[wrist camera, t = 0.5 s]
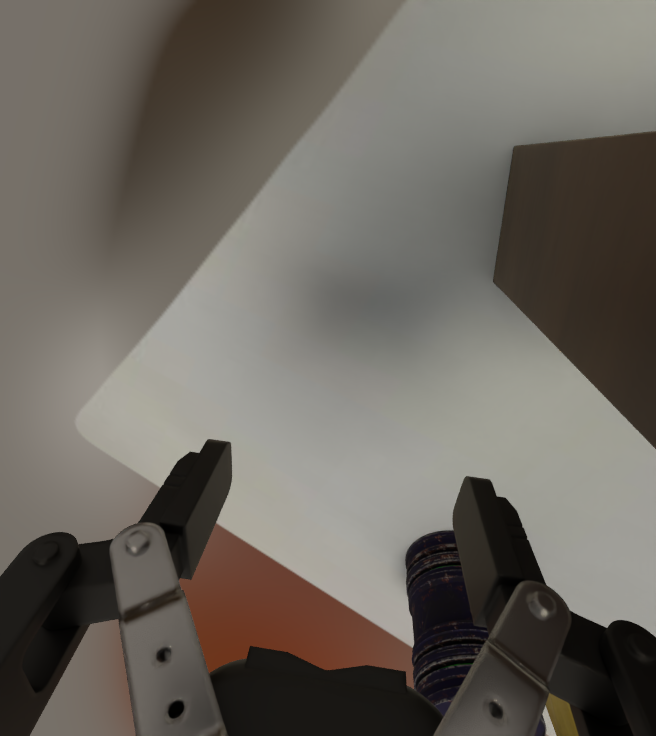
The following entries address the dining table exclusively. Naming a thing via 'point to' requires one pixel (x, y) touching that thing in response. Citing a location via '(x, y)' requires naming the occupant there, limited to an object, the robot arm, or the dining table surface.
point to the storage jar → (442, 620)
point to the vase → (561, 716)
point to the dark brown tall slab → (589, 260)
